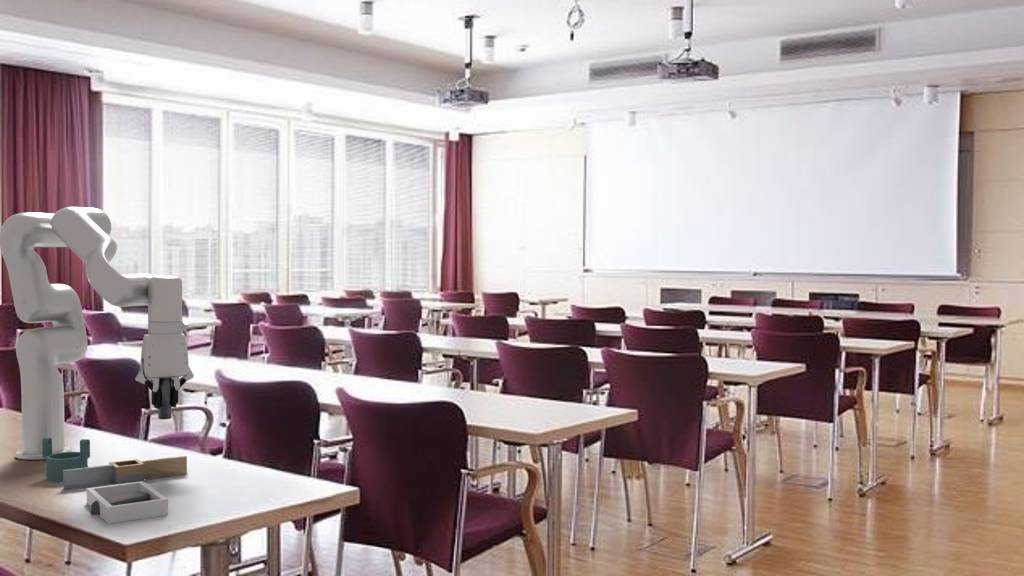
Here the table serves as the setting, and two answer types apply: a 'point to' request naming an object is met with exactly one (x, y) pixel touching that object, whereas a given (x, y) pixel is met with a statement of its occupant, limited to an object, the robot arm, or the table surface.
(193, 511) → the table surface
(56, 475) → the teal round tub
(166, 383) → the hinge pin
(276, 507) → the table surface
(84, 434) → the table surface
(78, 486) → the hinge
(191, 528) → the table surface
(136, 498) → the usb flash stick
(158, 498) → the parts tray frame
